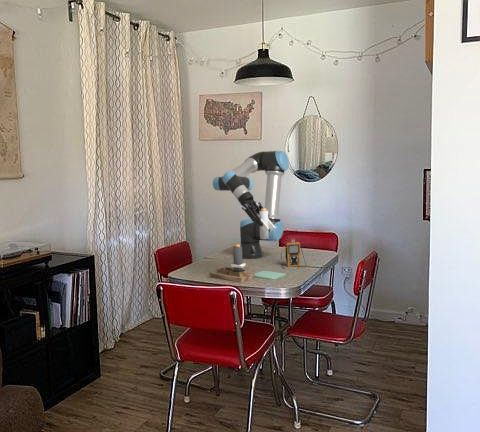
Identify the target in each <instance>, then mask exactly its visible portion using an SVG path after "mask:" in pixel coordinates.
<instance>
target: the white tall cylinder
mask: <svg viewBox="0 0 480 432" xmlns="http://www.w3.org/2000/svg"><path fill="white" fill-rule="evenodd" d="M258 216H259V218H260V219H262V220H263V221H264V223H265V224H266V225H267V226H268V211H266V208H264V207H263V208H262V209H261V211H259V215H258ZM260 239H269V230H268V231H267V232H265V231H264V230H263V229H262V227H261V226H260Z"/></svg>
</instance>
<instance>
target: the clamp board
mask: <svg viewBox="0 0 480 432" xmlns="http://www.w3.org/2000/svg"><path fill="white" fill-rule="evenodd" d="M209 275H210V278H212V279H218V280H223V281H224V280H225V281H229V282H236V283H243V282H246V281H250V280H252V279H255V278H256V277H255V273H251V272H250V273H249V270H247V269H243V272H234V267H230V266H228V267H227V266H224V267H221V268H217V269H216V271H214V272H211V273H209Z"/></svg>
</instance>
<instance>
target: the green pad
mask: <svg viewBox="0 0 480 432" xmlns="http://www.w3.org/2000/svg"><path fill="white" fill-rule="evenodd" d="M254 274H255V278H258V277H259V278H258V279H264V278H265V280H271V281H272V280H273V279H274V280H276V279H278V278H282V277H285V276H287V273H283V272H276V271H268V270H262V271H259V272H256V273H254ZM274 280H273V281H274Z"/></svg>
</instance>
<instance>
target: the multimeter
mask: <svg viewBox="0 0 480 432" xmlns="http://www.w3.org/2000/svg"><path fill="white" fill-rule="evenodd" d="M296 231H297V232H298V233H299V234H300V236H302V234H301V232H300V231H299V230H298V229H294V232H296ZM288 232H289V233H291V235H293V233H292V232H291V231H290V230H288ZM285 233H287V230H286V231H283V234H282V236H281V238H280V239H281V240H280V242H282V240H283V236H284V234H285ZM301 253H302V257H303V260H304V264H305V266H301ZM280 258H281V260H283V259H282V254H280ZM285 260H286V266H287V267H285V269H288V270H289V269H290V270H291V269H293V270H296V269H297V268H305V267H306V266H307V263H306V261H305V257H304V252H303V249H302V247H301V242H299V241H296V242H295V239H291V242H286V243H285ZM292 267H294V268H292ZM281 269H284V267H283V264H281Z"/></svg>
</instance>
